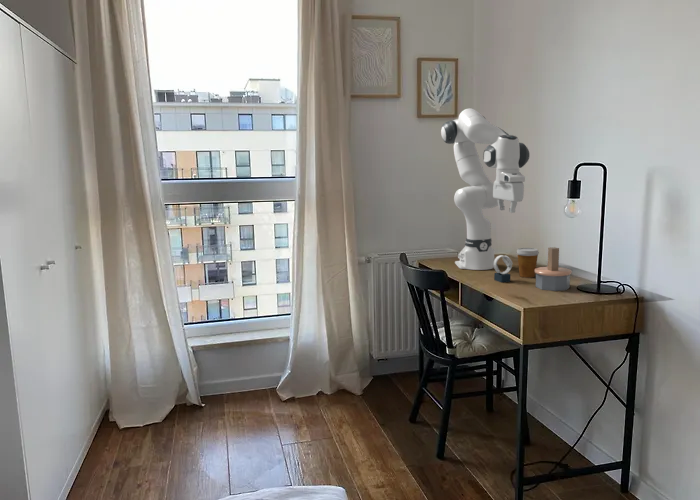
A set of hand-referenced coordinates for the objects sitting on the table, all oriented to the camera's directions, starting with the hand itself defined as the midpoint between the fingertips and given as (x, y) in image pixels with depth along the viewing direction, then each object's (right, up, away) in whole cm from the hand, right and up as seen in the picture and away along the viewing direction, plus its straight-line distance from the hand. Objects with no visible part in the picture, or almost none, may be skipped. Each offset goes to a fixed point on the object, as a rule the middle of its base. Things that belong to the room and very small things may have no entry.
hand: (506, 211), depth 227 cm
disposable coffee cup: (+15, -27, +23) cm, 38 cm away
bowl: (+19, -31, +1) cm, 36 cm away
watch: (+2, -29, +15) cm, 33 cm away
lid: (+18, -25, 0) cm, 31 cm away
